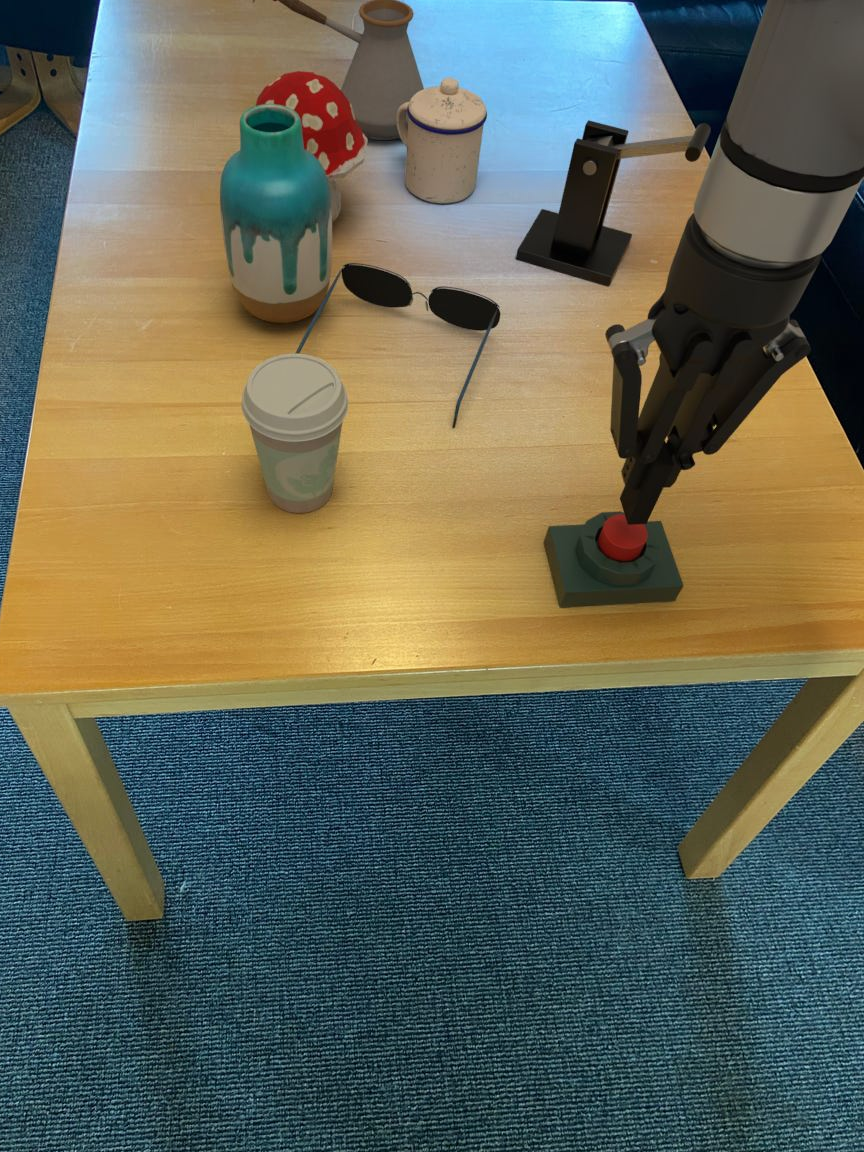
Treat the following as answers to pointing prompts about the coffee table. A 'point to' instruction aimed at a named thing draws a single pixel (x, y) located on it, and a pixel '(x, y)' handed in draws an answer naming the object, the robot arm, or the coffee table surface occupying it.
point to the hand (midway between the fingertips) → (632, 510)
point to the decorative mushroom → (321, 124)
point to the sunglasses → (398, 293)
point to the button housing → (609, 567)
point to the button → (622, 538)
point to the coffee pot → (376, 64)
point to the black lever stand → (582, 215)
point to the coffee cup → (296, 427)
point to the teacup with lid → (442, 141)
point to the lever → (662, 145)
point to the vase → (276, 218)
